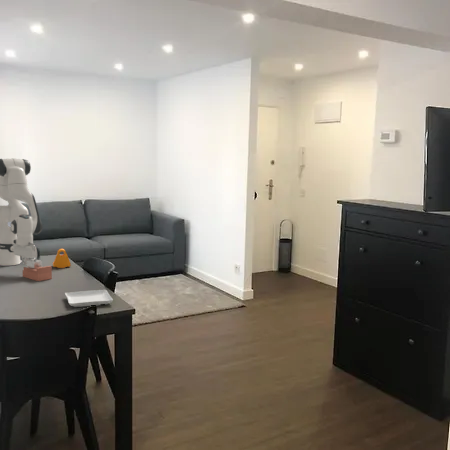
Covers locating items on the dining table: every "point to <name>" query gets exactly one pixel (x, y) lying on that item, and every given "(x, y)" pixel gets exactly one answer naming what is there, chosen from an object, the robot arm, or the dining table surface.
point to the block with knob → (33, 263)
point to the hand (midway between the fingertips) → (25, 264)
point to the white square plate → (88, 298)
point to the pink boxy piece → (38, 273)
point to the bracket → (61, 260)
